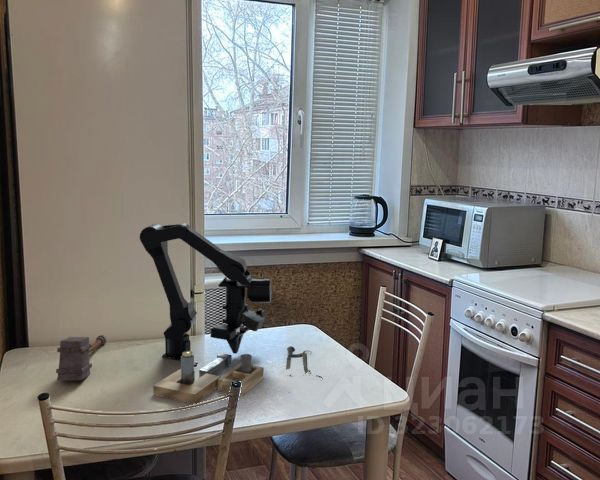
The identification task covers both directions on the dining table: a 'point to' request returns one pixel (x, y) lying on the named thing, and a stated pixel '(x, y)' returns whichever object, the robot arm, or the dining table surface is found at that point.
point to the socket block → (186, 387)
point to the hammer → (76, 357)
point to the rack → (242, 375)
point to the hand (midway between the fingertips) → (235, 353)
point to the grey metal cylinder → (187, 368)
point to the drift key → (216, 365)
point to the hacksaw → (290, 350)
